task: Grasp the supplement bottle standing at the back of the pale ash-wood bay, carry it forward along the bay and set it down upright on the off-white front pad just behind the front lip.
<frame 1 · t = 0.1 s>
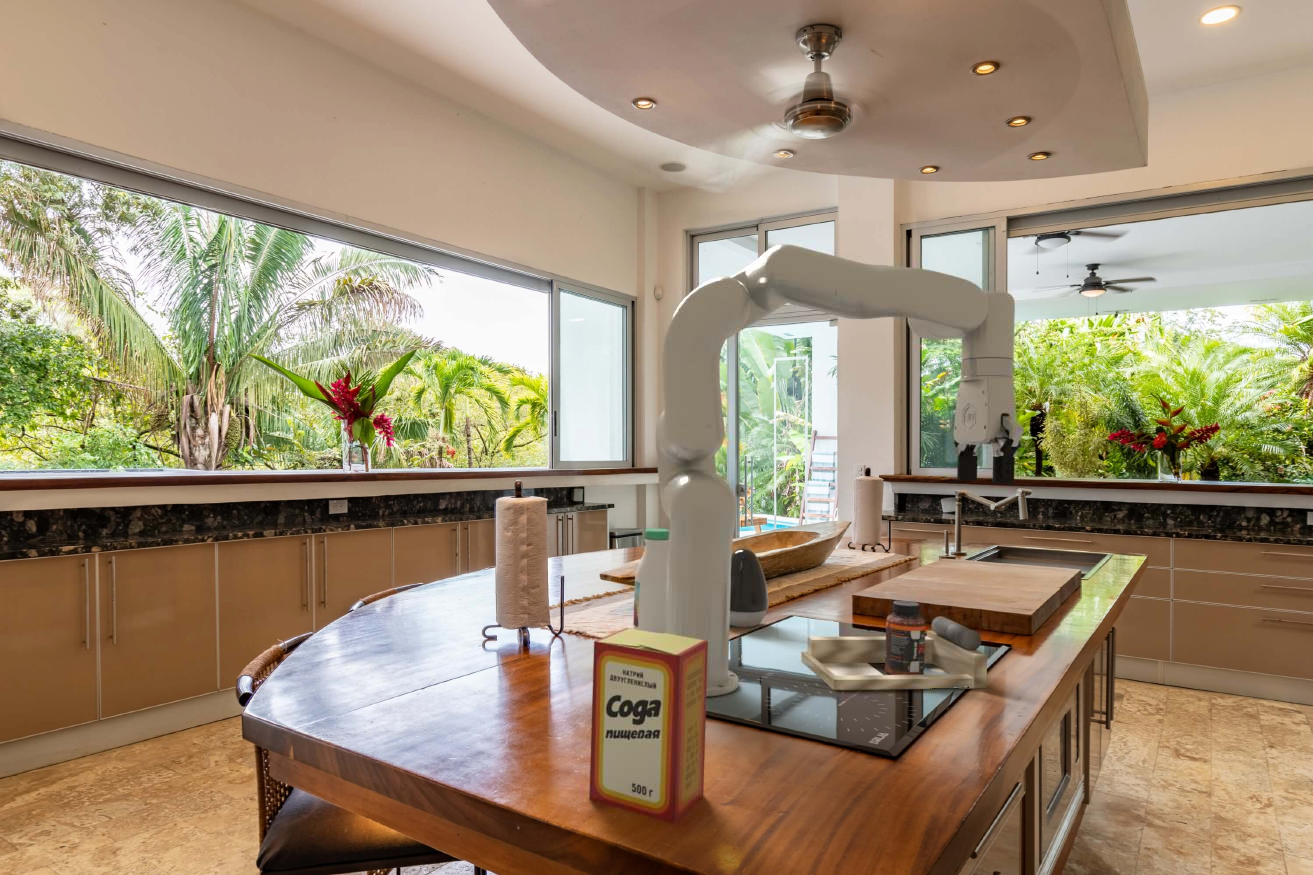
hand: (984, 481, 119), 31 cm above the kitchen island, tool pointing down, fingers open, 9 cm apart
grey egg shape: (741, 625, 151), on the kitchen island
milk bottle: (654, 641, 137), on the kitchen island
bay: (889, 673, 121), on the kitchen island
baking soda box: (646, 799, 76), on the kitchen island
supplement bottle: (904, 675, 121), resting in bay
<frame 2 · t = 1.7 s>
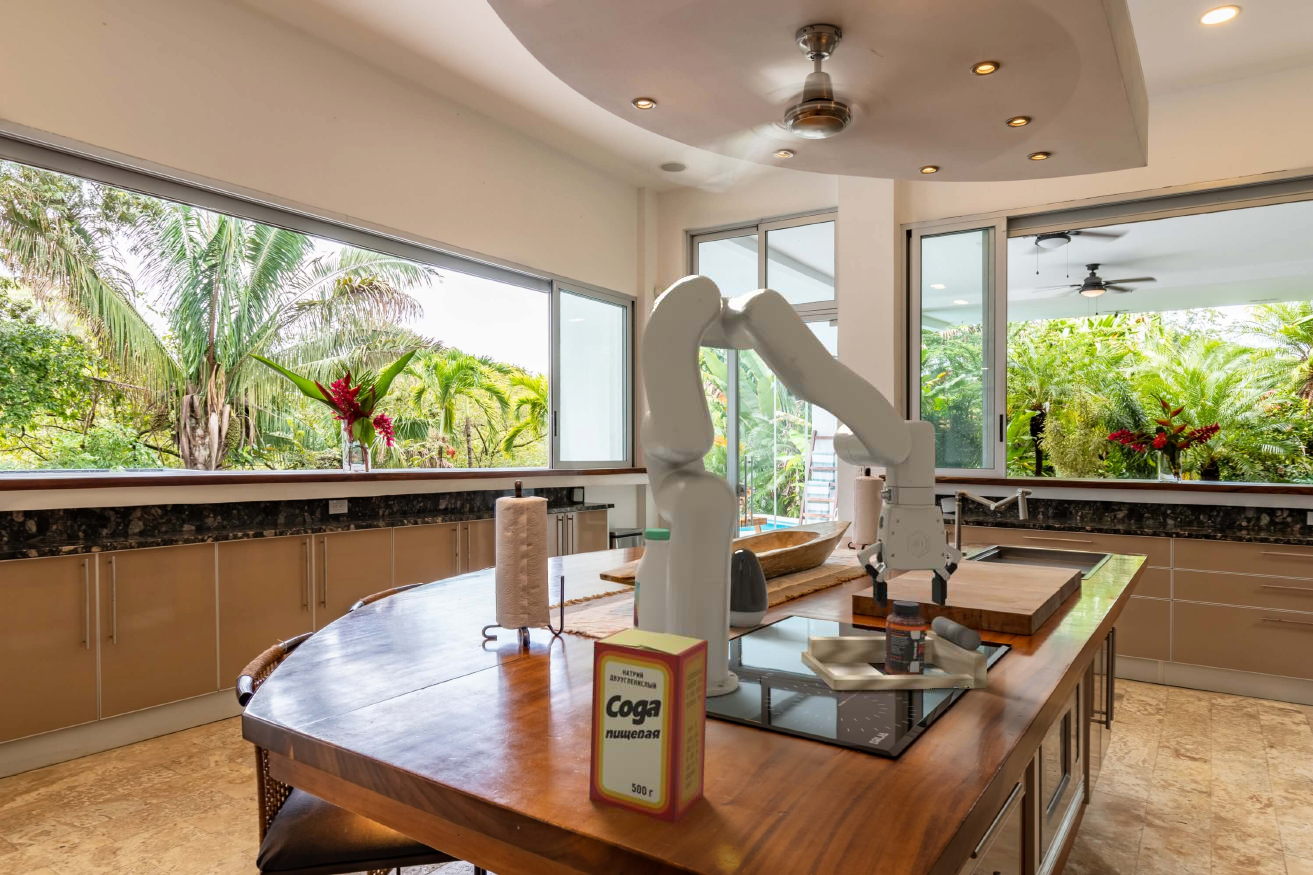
hand: (909, 604, 121), 11 cm above the kitchen island, tool pointing down, fingers open, 9 cm apart
nothing on the kitchen island moved.
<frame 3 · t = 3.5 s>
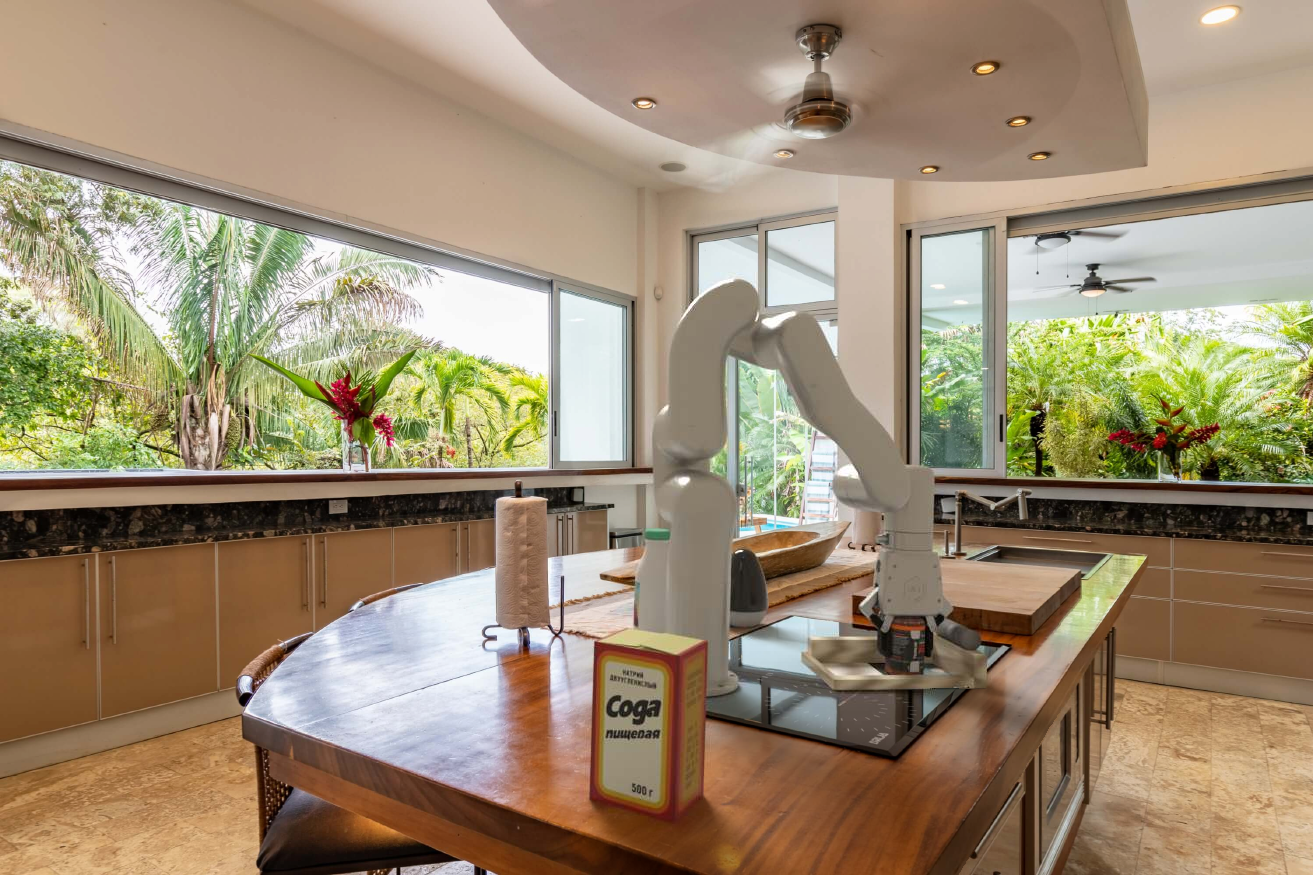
hand: (904, 654, 121), 3 cm above the kitchen island, tool pointing down, fingers closed on supplement bottle, 6 cm apart
supplement bottle: (904, 674, 121), resting in bay, touching gripper
everything else where it was.
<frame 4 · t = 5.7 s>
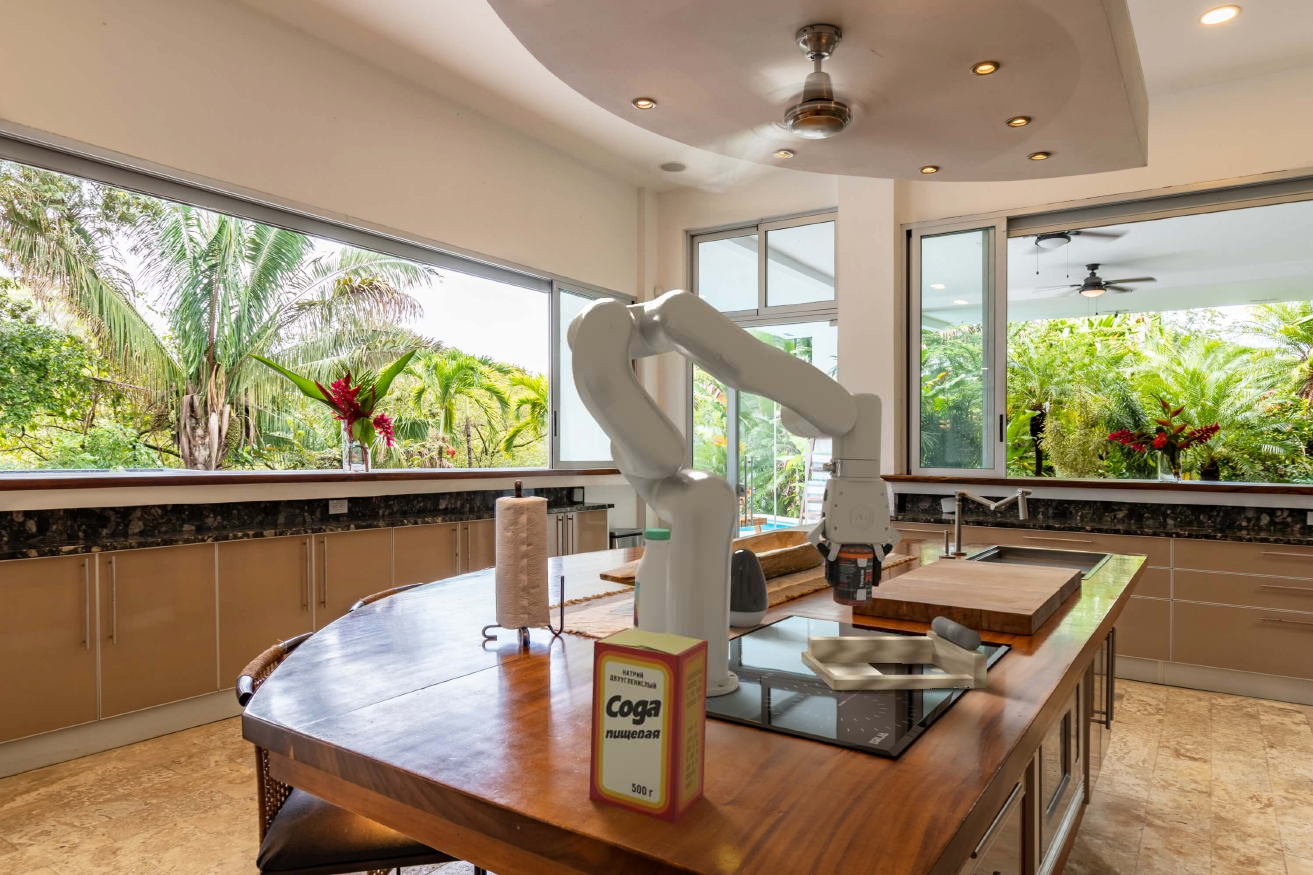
hand: (852, 583, 120), 14 cm above the kitchen island, tool pointing down, fingers closed on supplement bottle, 6 cm apart
supplement bottle: (852, 604, 120), point 11 cm above the kitchen island, touching gripper
everything else where it was.
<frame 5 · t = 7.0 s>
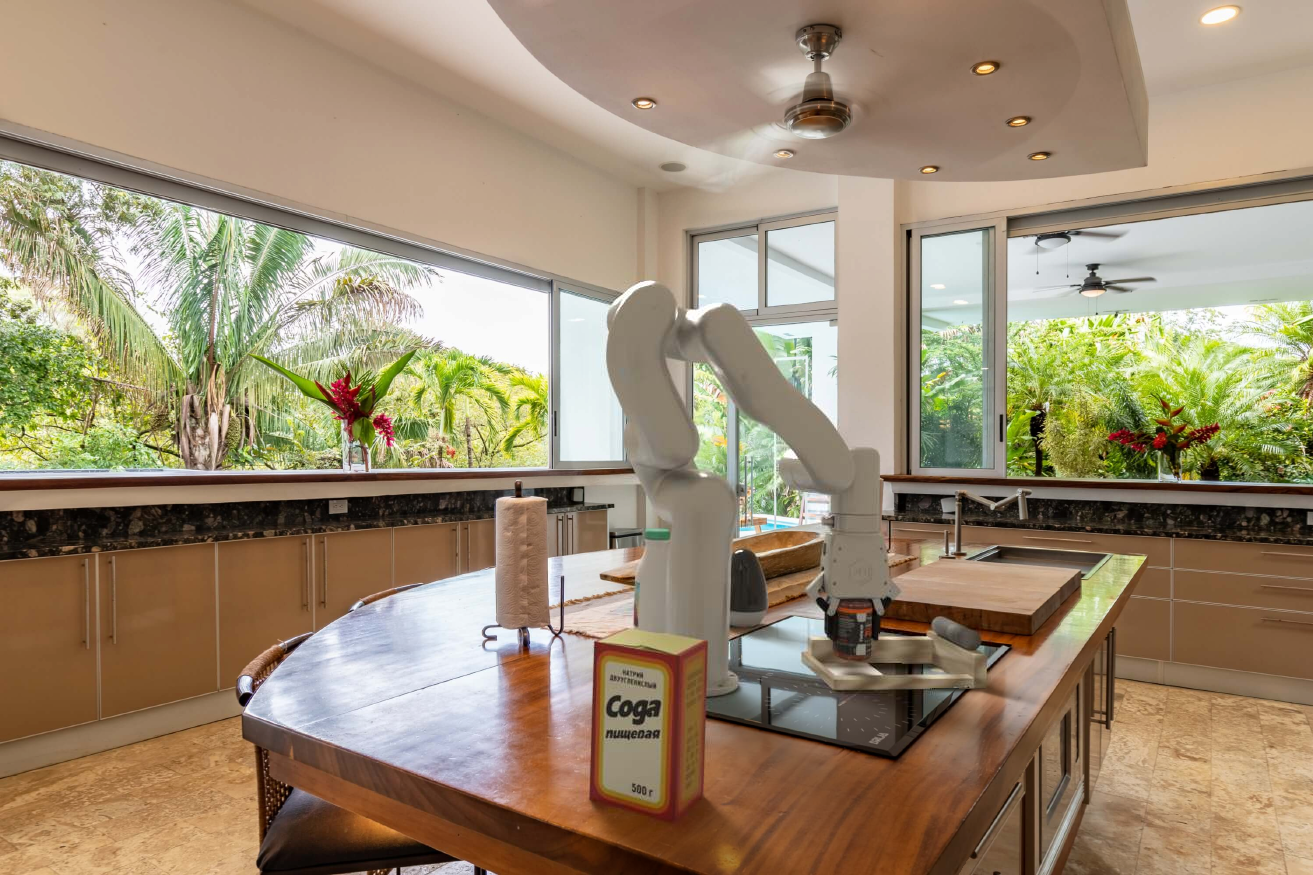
hand: (852, 637, 120), 6 cm above the kitchen island, tool pointing down, fingers closed on supplement bottle, 6 cm apart
supplement bottle: (851, 658, 120), point 2 cm above the kitchen island, touching gripper
everything else where it was.
when the fingers open (4 cm above the kitchen island, at t = 8.2 s): supplement bottle stays where it is, resting on bay.
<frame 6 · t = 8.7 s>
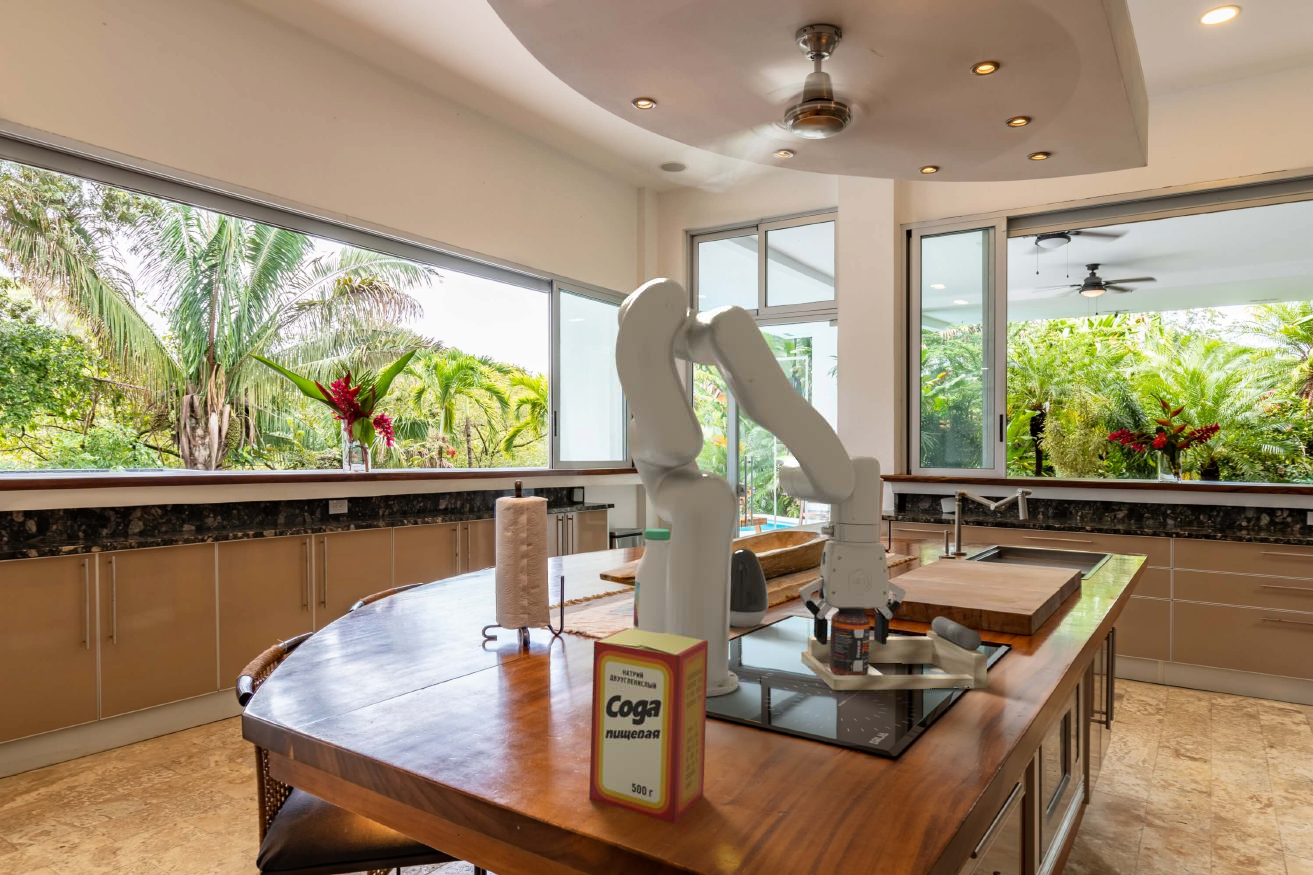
hand: (850, 642, 120), 5 cm above the kitchen island, tool pointing down, fingers open, 9 cm apart
supplement bottle: (848, 674, 120), resting on bay
everything else where it was.
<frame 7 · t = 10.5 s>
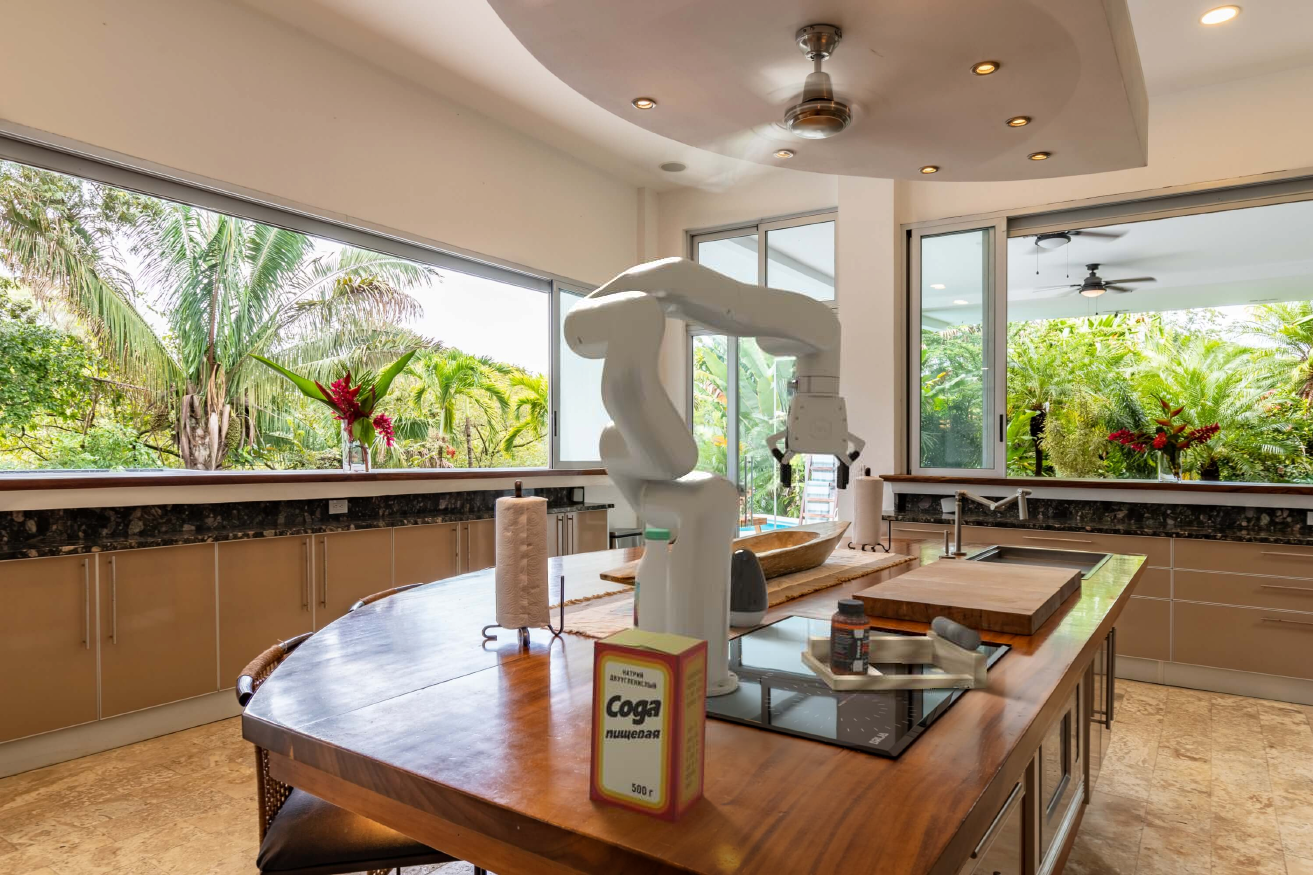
hand: (814, 488, 131), 29 cm above the kitchen island, tool pointing down, fingers open, 9 cm apart
nothing on the kitchen island moved.
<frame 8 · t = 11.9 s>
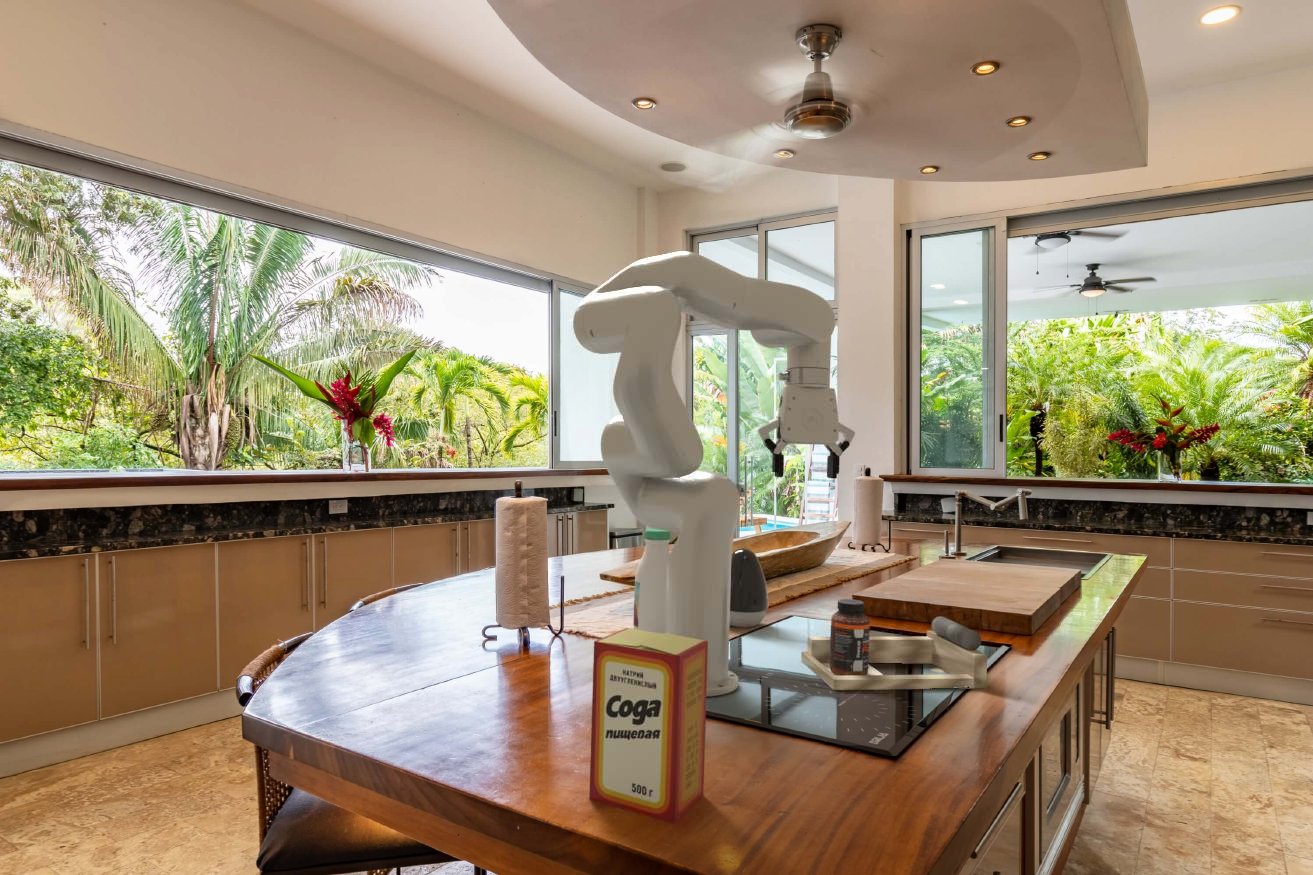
hand: (805, 477, 134), 30 cm above the kitchen island, tool pointing down, fingers open, 9 cm apart
nothing on the kitchen island moved.
at the end: supplement bottle inside the target area (0.9 cm from its centre), resting on bay; supplement bottle tilted 0°; the gripper is holding nothing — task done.
